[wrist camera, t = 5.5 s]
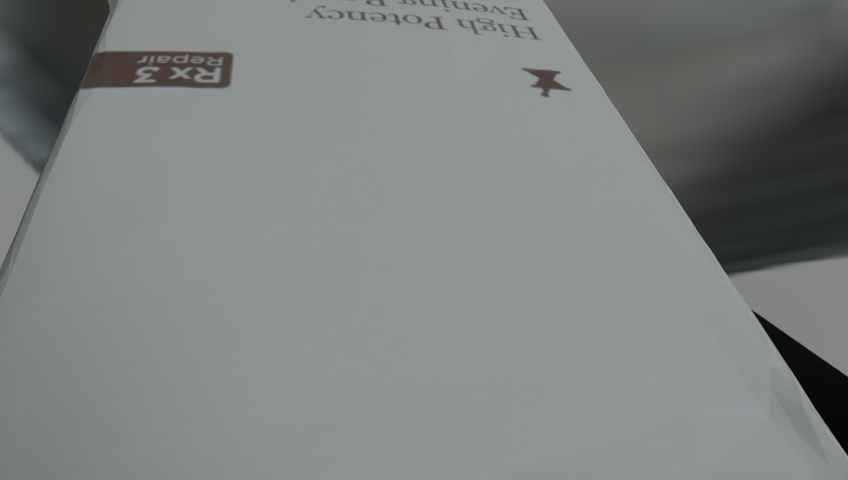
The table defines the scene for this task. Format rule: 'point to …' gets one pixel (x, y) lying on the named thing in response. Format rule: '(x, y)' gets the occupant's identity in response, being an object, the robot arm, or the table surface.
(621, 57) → the table surface
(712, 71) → the table surface
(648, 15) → the table surface
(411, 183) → the skincare box
